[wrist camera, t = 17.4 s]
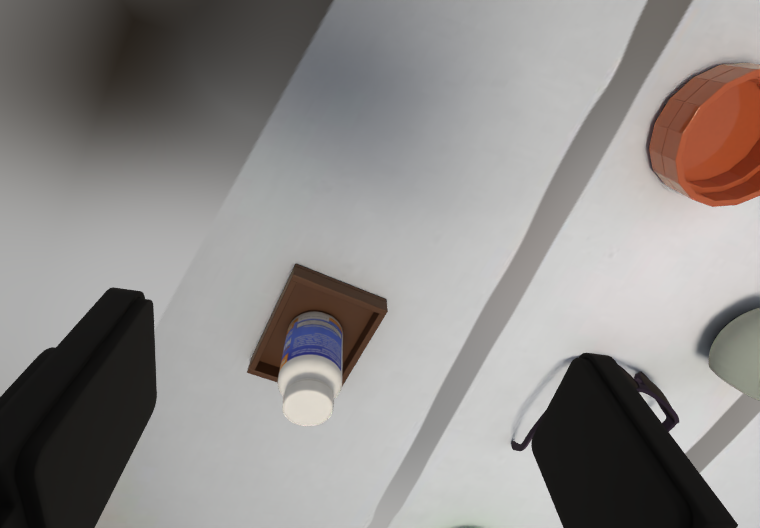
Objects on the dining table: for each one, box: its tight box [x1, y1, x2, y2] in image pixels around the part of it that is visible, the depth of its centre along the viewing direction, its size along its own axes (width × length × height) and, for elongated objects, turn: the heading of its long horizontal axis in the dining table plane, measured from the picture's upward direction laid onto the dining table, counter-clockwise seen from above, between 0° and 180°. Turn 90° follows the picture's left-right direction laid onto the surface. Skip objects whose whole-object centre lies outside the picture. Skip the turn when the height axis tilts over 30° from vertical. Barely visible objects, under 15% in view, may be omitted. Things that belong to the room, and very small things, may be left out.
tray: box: [247, 264, 388, 386], centre depth 43 cm, size 12×9×2 cm
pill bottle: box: [278, 311, 343, 426], centre depth 40 cm, size 5×5×10 cm
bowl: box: [649, 63, 760, 207], centre depth 35 cm, size 10×10×4 cm
